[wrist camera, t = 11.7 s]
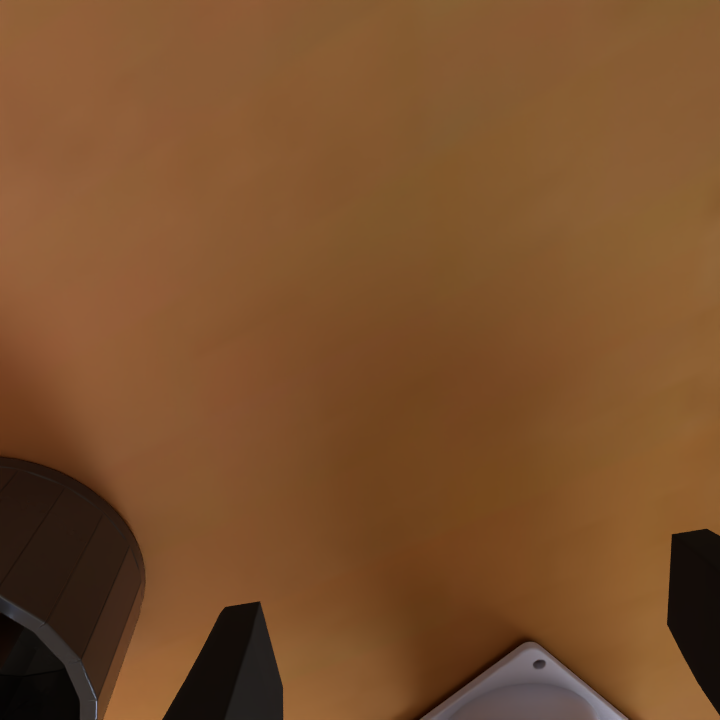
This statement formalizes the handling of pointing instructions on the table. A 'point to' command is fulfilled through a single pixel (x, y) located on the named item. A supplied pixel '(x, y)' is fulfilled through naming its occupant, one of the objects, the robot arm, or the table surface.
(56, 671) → the brown round cylinder
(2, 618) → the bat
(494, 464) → the table surface
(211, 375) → the table surface
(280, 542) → the table surface
